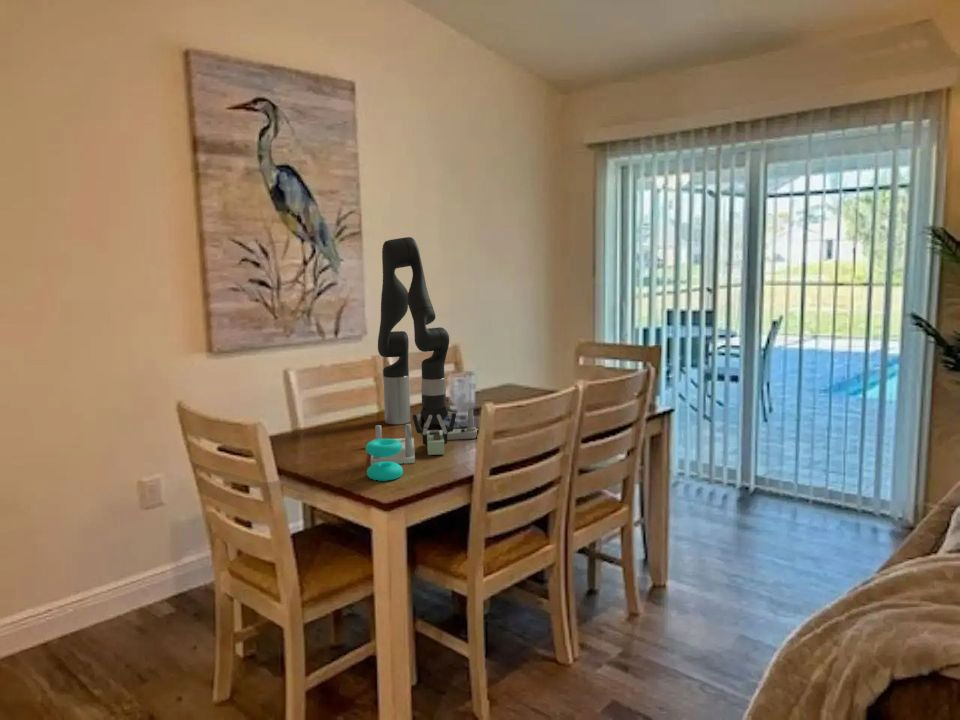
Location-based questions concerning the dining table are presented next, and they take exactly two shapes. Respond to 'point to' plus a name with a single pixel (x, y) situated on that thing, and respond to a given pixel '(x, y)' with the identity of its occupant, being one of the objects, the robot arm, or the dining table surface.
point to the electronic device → (464, 430)
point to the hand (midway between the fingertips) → (435, 445)
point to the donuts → (384, 469)
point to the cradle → (406, 452)
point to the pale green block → (435, 442)
